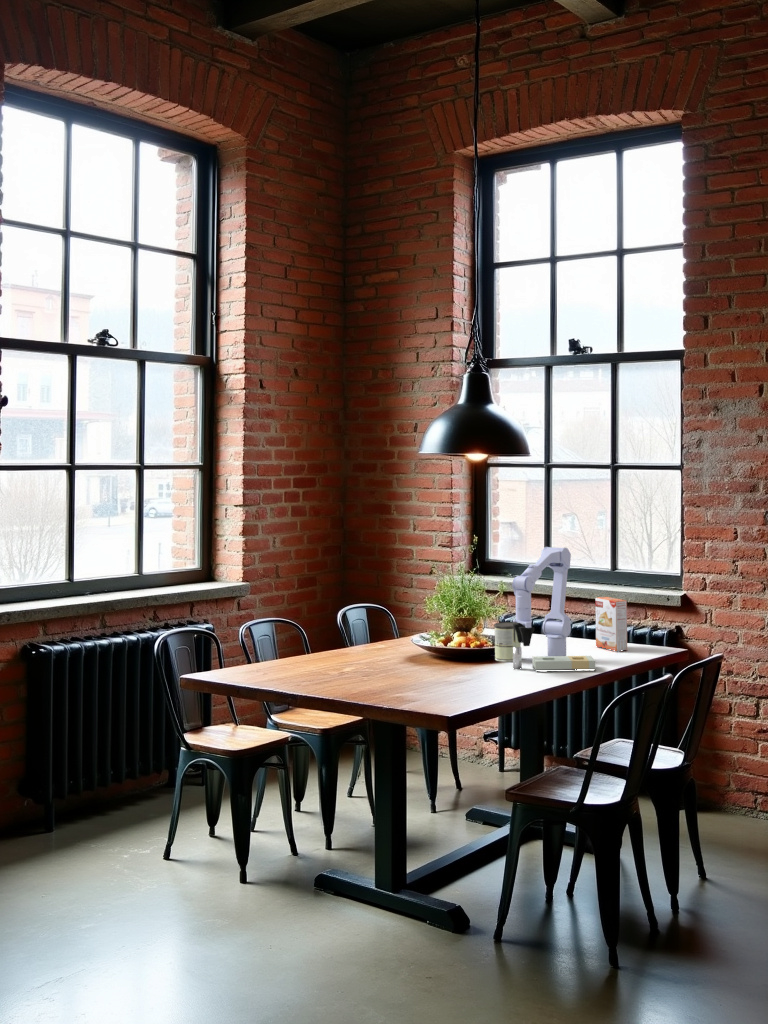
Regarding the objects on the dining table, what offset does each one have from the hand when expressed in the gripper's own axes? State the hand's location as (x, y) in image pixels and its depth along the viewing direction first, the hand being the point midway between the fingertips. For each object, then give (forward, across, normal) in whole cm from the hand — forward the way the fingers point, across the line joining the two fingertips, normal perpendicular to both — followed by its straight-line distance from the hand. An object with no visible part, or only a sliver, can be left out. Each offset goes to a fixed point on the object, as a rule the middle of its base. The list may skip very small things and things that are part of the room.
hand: (523, 644), depth 405 cm
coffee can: (+10, -21, -1) cm, 23 cm away
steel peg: (+10, -2, -2) cm, 10 cm away
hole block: (+10, +3, +14) cm, 17 cm away
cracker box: (+10, -34, +46) cm, 58 cm away
